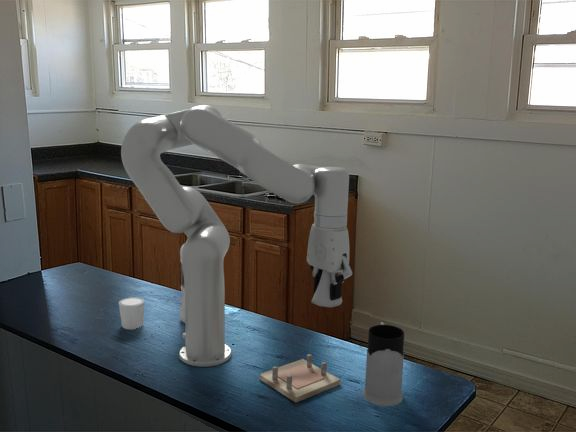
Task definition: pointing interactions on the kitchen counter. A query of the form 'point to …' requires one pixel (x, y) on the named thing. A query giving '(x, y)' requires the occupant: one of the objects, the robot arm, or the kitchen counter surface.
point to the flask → (325, 292)
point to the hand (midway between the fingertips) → (327, 294)
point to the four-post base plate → (300, 379)
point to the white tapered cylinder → (132, 312)
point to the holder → (384, 365)
